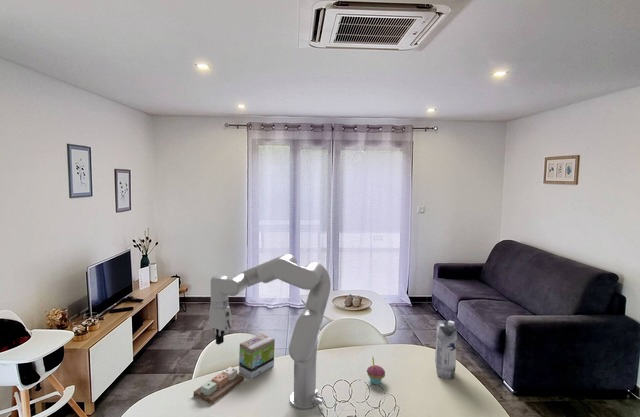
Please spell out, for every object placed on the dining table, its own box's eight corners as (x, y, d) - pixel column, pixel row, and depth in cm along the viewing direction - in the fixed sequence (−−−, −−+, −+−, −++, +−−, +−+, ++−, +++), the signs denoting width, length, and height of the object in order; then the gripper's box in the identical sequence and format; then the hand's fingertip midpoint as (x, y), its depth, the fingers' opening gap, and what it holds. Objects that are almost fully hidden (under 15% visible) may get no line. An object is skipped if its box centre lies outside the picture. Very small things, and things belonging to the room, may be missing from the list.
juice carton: (436, 378, 162) (438, 324, 160) (434, 366, 172) (436, 315, 170) (455, 380, 160) (458, 326, 158) (452, 369, 170) (455, 317, 168)
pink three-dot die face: (227, 382, 152) (227, 376, 152) (219, 387, 148) (219, 381, 148) (220, 379, 154) (219, 373, 154) (212, 384, 150) (212, 378, 150)
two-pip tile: (237, 375, 158) (237, 369, 157) (230, 380, 154) (230, 373, 153) (230, 372, 160) (230, 366, 160) (223, 377, 156) (223, 371, 156)
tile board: (244, 380, 157) (244, 376, 157) (211, 404, 140) (211, 399, 140) (227, 373, 163) (227, 369, 162) (193, 395, 145) (193, 391, 145)
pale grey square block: (216, 390, 146) (216, 383, 146) (208, 395, 142) (208, 388, 142) (209, 386, 148) (209, 380, 148) (200, 392, 144) (200, 385, 144)
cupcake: (364, 383, 157) (364, 358, 156) (370, 374, 164) (370, 350, 163) (381, 388, 153) (382, 363, 152) (387, 379, 160) (388, 355, 159)
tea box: (252, 379, 158) (252, 349, 157) (238, 372, 164) (238, 343, 163) (274, 366, 170) (275, 338, 169) (261, 359, 176) (261, 332, 175)
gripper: (238, 304, 148) (238, 343, 149) (213, 297, 155) (214, 335, 156) (225, 309, 141) (225, 351, 143) (201, 302, 148) (201, 342, 150)
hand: (219, 343), depth 150 cm, fingers closed
